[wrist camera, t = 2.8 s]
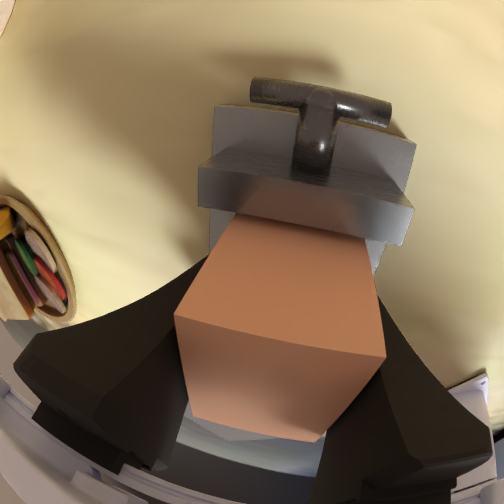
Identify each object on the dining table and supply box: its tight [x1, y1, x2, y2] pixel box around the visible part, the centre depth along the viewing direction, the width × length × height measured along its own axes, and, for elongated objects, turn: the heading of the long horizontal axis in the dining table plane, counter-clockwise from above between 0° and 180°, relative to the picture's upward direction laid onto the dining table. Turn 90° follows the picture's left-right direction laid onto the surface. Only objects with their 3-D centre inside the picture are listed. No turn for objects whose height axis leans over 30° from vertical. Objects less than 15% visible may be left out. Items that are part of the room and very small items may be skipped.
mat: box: [184, 401, 281, 441], centre depth 22 cm, size 11×11×1 cm
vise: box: [198, 77, 417, 277], centre depth 10 cm, size 12×7×4 cm, turn 175°
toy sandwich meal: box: [0, 195, 76, 322], centre depth 16 cm, size 12×14×5 cm
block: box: [174, 213, 386, 442], centre depth 9 cm, size 5×4×6 cm
